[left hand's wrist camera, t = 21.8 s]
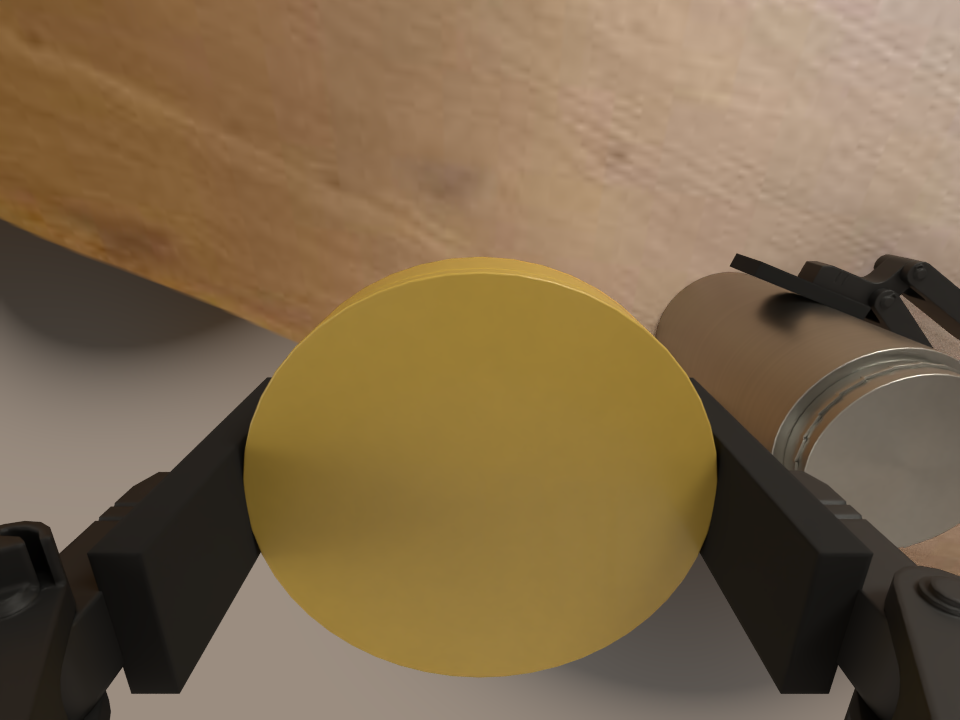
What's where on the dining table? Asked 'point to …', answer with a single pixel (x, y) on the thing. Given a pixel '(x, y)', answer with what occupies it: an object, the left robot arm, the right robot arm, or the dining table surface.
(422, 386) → the lid
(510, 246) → the dining table surface
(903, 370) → the jar
